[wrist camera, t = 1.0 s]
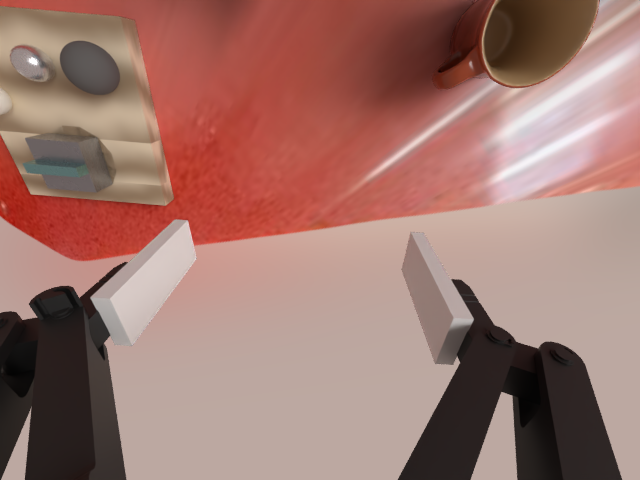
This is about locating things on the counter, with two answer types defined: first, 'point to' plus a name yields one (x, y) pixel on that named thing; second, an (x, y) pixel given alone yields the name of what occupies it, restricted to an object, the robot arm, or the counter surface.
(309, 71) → the counter surface
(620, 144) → the counter surface
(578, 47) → the mug
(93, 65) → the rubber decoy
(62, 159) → the cover
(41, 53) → the steel ball
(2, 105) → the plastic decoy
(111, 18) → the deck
